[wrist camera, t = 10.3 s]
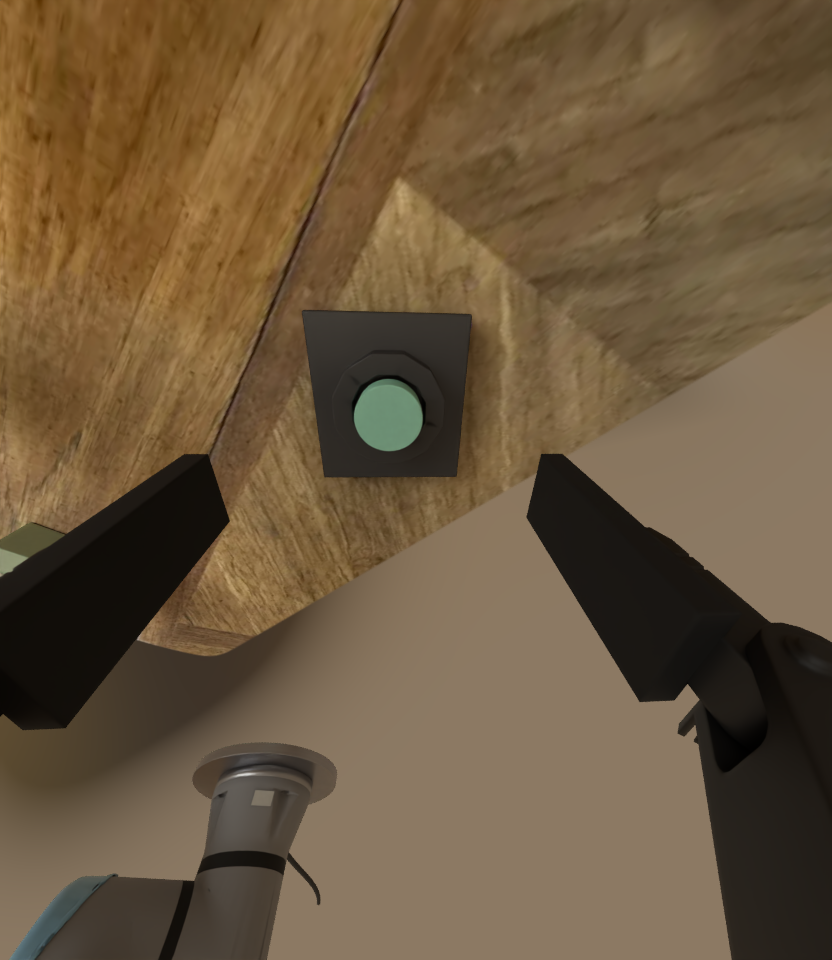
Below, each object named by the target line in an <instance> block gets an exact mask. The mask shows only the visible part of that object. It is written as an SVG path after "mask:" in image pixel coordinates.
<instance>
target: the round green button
mask: <svg viewBox="0 0 832 960" xmlns="http://www.w3.org/2000/svg"><path fill="white" fill-rule="evenodd" d="M354 422H355V426H356V429H357V432H358V433H359V435H360V436H361V438H362V439H363V440H364V441H365V442H366V443H367V444H369V445H370V446H372V447H374V448H376V449H379V450H383V451H396V450H400V449H403V448H405V447H407V446H408V445H410V444H411V443H412V442H413V441H414V440H415V439H416V438H417V436H418V435H419V433H420V431H421V428H422V423H423V414H422V409H421V405H420V402H419V399H418V397H417V395H416V393H415V392H414V391H413V390H412V388H410V387H409V386H408V385H407V384H405V383H403V382H401V381H398V380H394V379H382V380H378V381H376V382H374V383H372V384H370V385H369V386H368V387H367V388H366V389H365V390H364V391H363V392H362V394H361V396H360V398H359V400H358V403H357V405H356V408H355V412H354Z"/></svg>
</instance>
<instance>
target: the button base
mask: <svg viewBox="0 0 832 960" xmlns="http://www.w3.org/2000/svg"><path fill="white" fill-rule="evenodd" d="M302 316H303V323H304V330H305V338H306V345H307V353H308V360H309V367H310V375H311V382H312V389H313V397H314V404H315V411H316V419H317V426H318V434H319V441H320V448H321V456H322V463H323V470H324V477H456V476H457V467H458V457H459V446H460V436H461V425H462V415H463V404H464V394H465V383H466V373H467V363H468V352H469V342H470V331H471V321H472V315H471V314H451V313H410V312H369V311H328V310H303V311H302ZM382 379H394V380H398V381H401V382H403V383H405V384H407V385H408V386H409V387H410V388H412V390H413V391H414V392H415V393H416V395H417V397H418V399H419V402H420V405H421V409H422V414H423V423H422V428H421V431H420V433H419V435H418V436H417V438H416V439H415V440H414V441H413V442H412V443H411V444H410V445H408V446H407V447H405V448H403V449H400V450H396V451H383V450H379V449H376V448H374V447H372V446H370V445H369V444H367V443H366V442H365V441H364V440H363V439H362V438H361V436H360V435H359V433H358V432H357V429H356V426H355V422H354V412H355V408H356V405H357V403H358V400H359V398H360V396H361V394H362V392H363V391H364V390H365V389H366V388H367V387H368V386H369V385H370V384H372V383H374V382H376V381H378V380H382Z"/></svg>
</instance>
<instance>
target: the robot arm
mask: <svg viewBox="0 0 832 960" xmlns="http://www.w3.org/2000/svg"><path fill="white" fill-rule="evenodd" d="M527 519H528V521H529V522H530V524H531V526H532V527H533V529H534V531H535V532H536V534H537V535H538V537H539V539H540V540H541V542H542V543H543V545H544V547H545V548H546V550H547V551H548V553H549V555H550V556H551V558H552V560H553V561H554V563H555V564H556V566H557V568H558V570H559V571H560V573H561V574H562V576H563V578H564V579H565V581H566V583H567V584H568V586H569V587H570V589H571V590H572V592H573V594H574V596H575V597H576V599H577V601H578V602H579V604H580V605H581V607H582V609H583V610H584V612H585V613H586V615H587V617H588V618H589V620H590V622H591V623H592V625H593V627H594V628H595V630H596V631H597V633H598V635H599V636H600V638H601V640H602V641H603V643H604V644H605V646H606V648H607V649H608V651H609V653H610V654H611V656H612V658H613V659H614V661H615V662H616V664H617V665H618V667H619V669H620V671H621V672H622V674H623V675H624V677H625V679H626V680H627V682H628V684H629V685H630V687H631V688H632V690H633V692H634V693H635V695H636V697H637V698H638V700H639V702H650V701H670V700H671V701H672V700H675V699H676V698H677V696H678V695H679V694H680V693H681V691H682V690H683V689H684V687H685V686H686V685H687V684H688V685H689V686H690V687H691V689H692V690H693V691H694V693H695V694H696V695H697V696H698V698H699V699H700V700H699V701H698V702H697V704H696V705H695V706H694V707H693V708H692V710H691V711H690V712H689V713H688V714H687V715H686V716H685V718H684V719H683V720H682V721H681V722H680V723H679V728H678V734H680V735H682V736H685V735H686V734H687V733H688V732H689V731H690V730H691V729H692V728H693V727H694V725H696V731H697V736H696V738H695V739H694V742H695V743H697V744H699V751H700V757H701V764H702V770H703V776H704V782H705V789H706V796H707V802H708V809H709V815H710V822H711V828H712V834H713V841H714V848H715V854H716V861H717V866H718V873H719V880H720V886H721V893H722V899H723V906H724V912H725V919H726V925H727V932H728V938H729V945H730V950H731V957H732V960H832V642H830V641H828V640H827V639H825V638H823V637H821V636H819V635H817V634H815V633H812V632H810V631H808V630H805V629H803V628H800V627H797V626H793V625H789V624H785V623H770V622H769V621H768V620H767V619H765V618H764V617H763V616H762V615H761V614H759V613H758V612H757V611H756V610H755V609H753V608H752V607H751V606H750V605H749V604H748V603H746V602H745V601H744V600H743V599H742V598H740V597H739V596H738V595H737V594H736V593H735V592H733V591H732V590H731V589H730V588H729V587H727V586H726V585H725V584H724V583H723V582H721V581H720V580H719V579H718V578H717V577H715V576H714V575H713V574H712V573H711V572H710V571H708V570H704V566H702V565H701V564H700V563H699V562H698V561H697V560H695V559H694V558H693V557H689V554H688V553H687V552H686V551H685V550H683V549H682V548H681V547H680V546H679V545H678V544H676V543H675V542H674V541H673V540H672V539H670V538H668V537H666V536H664V535H663V534H661V533H659V532H657V531H655V530H654V529H652V528H650V527H648V528H646V527H644V526H643V525H642V524H641V523H640V522H639V521H638V520H636V519H635V518H634V517H633V516H632V515H630V514H629V512H627V511H626V510H625V509H624V508H623V507H622V506H621V505H620V504H618V503H617V502H616V501H615V500H614V499H613V498H612V497H610V496H609V495H608V494H607V493H606V492H605V491H603V489H601V488H600V487H599V486H598V485H597V484H596V483H595V482H594V481H592V480H591V479H590V478H589V477H588V476H587V475H586V474H584V473H583V472H582V471H581V470H580V469H579V468H578V467H577V466H575V465H574V464H573V463H572V462H571V461H570V460H569V459H568V458H566V457H565V456H564V455H563V454H541V458H540V462H539V466H538V470H537V475H536V479H535V483H534V488H533V492H532V496H531V500H530V504H529V509H528V513H527ZM229 522H230V520H229V517H228V514H227V511H226V508H225V505H224V502H223V499H222V496H221V493H220V490H219V486H218V483H217V480H216V477H215V474H214V471H213V468H212V465H211V462H210V459H209V456H208V454H184V455H182V456H181V457H180V458H178V459H177V460H175V461H174V462H172V463H171V464H169V465H168V466H166V467H165V468H163V469H162V470H160V471H159V472H157V473H156V474H154V475H153V476H152V477H150V478H149V479H147V480H146V481H144V482H143V483H141V484H140V485H138V486H137V487H135V488H134V489H132V490H131V491H129V492H128V493H126V494H125V495H124V496H122V497H121V498H119V499H118V500H116V501H115V502H113V503H112V504H110V505H109V506H107V507H106V508H104V509H103V510H101V511H100V512H99V513H97V514H96V515H94V516H93V517H91V518H90V519H88V520H87V521H85V522H84V523H82V524H81V525H79V526H78V527H76V528H75V529H73V530H72V531H71V532H69V533H68V534H66V535H65V536H63V537H62V538H60V539H59V540H57V541H56V542H54V543H53V544H51V545H50V546H48V547H46V548H44V549H42V550H40V551H38V552H37V553H35V554H34V555H32V556H31V557H29V558H28V559H26V560H25V561H23V562H22V563H20V564H19V565H17V566H16V567H14V568H13V571H12V572H7V573H5V574H4V575H2V576H1V577H0V716H1V715H2V714H4V715H5V716H6V717H8V718H9V719H10V720H11V721H12V722H14V723H15V724H16V725H17V726H18V727H20V728H21V729H22V730H34V729H56V728H66V727H67V725H68V724H69V723H70V722H71V720H72V719H73V718H74V717H75V715H76V714H77V713H78V712H79V710H80V709H81V708H82V706H83V705H84V704H85V703H86V701H87V700H88V699H89V698H90V696H91V695H92V694H93V693H94V691H95V690H96V689H97V688H98V686H99V685H100V684H101V683H102V681H103V680H104V679H105V678H106V676H107V675H108V674H109V673H110V671H111V670H112V669H113V667H114V666H115V665H116V664H117V662H118V661H119V660H120V659H121V657H122V656H123V655H124V654H125V652H126V651H127V650H128V649H129V647H130V646H131V645H132V644H133V642H134V641H135V640H136V639H137V637H138V636H139V635H140V634H141V632H142V631H143V630H144V629H145V627H146V626H147V625H148V623H149V622H150V621H151V620H152V618H153V617H154V616H155V615H156V613H157V612H158V611H159V610H160V608H161V607H162V606H163V605H164V603H165V602H166V601H167V600H168V598H169V597H170V596H171V595H172V593H173V592H174V591H175V589H176V588H177V587H178V586H179V584H180V583H181V582H182V581H183V579H184V578H185V577H186V576H187V574H188V573H189V572H190V571H191V569H192V568H193V567H194V566H195V564H196V563H197V562H198V561H199V559H200V558H201V557H202V555H203V554H204V553H205V552H206V550H207V549H208V548H209V547H210V545H211V544H212V543H213V542H214V540H215V539H216V538H217V537H218V535H219V534H220V533H221V532H222V530H223V529H224V528H225V527H226V525H227V524H228V523H229ZM312 786H313V783H312V781H311V779H310V778H309V777H308V776H307V775H305V774H304V773H302V772H300V771H298V770H295V769H292V768H288V767H283V766H276V765H249V766H242V767H238V768H235V769H232V770H229V771H227V772H225V773H224V774H222V775H221V776H220V777H219V779H218V782H217V784H216V787H215V789H214V793H213V797H212V802H211V809H210V817H209V824H208V832H207V839H206V847H205V852H204V855H203V858H202V861H201V864H200V867H199V870H198V872H197V875H196V878H195V881H183V880H165V879H147V878H129V877H118V875H117V874H111V875H108V876H85V877H81V878H79V879H77V880H75V881H74V882H72V883H70V884H69V885H68V886H66V887H65V888H64V889H63V890H62V891H61V892H60V893H59V894H58V895H57V896H56V897H55V898H54V899H53V901H52V902H51V903H50V904H49V906H48V907H47V908H46V909H45V911H44V912H43V913H42V915H41V916H40V917H39V918H38V920H37V921H36V922H35V924H34V925H33V927H32V928H31V930H30V931H29V932H28V933H27V935H26V936H25V938H24V939H23V941H22V942H21V943H20V945H19V946H18V948H17V949H16V951H15V952H14V953H13V955H12V956H11V958H10V959H9V960H267V956H268V950H269V945H270V940H271V935H272V930H273V925H274V920H275V915H276V910H277V905H278V900H279V895H280V890H281V885H282V880H283V875H284V870H285V865H286V860H288V861H289V862H290V863H291V865H292V866H293V867H294V868H295V869H296V870H297V871H298V872H299V873H300V874H301V875H302V876H303V877H304V878H305V880H306V881H307V882H308V883H309V884H310V886H311V887H312V888H313V890H314V892H315V894H316V897H317V904H318V905H319V904H320V894H319V890H318V888H317V886H316V884H315V883H314V882H313V880H312V879H311V878H310V876H309V875H308V874H307V873H306V872H305V871H304V870H303V869H302V868H301V867H300V865H299V864H298V863H297V862H296V861H295V860H294V858H293V857H292V856H291V854H290V853H289V849H290V847H291V845H292V842H293V840H294V837H295V835H296V833H297V830H298V828H299V825H300V823H301V821H302V818H303V816H304V813H305V811H306V809H307V806H308V804H309V800H310V797H311V792H312Z"/></svg>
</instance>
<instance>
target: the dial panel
mask: <svg viewBox="0 0 832 960" xmlns="http://www.w3.org/2000/svg"><path fill="white" fill-rule="evenodd" d="M63 536H65V534H62V533H59V532H56V531H54V530H51V529H48V528H45V527H42V526H40V525H37V524H34V523H31V522H30V523H28V524H26V525H25V526H23V527H21V528H20V529H18V530H16V531H14V532H13V533H11V534H9V535H7V536H6V537H4V538H2V539H1V540H0V577H1V576H2V575H4V574H5V573H7V572H12V571H13V568H14V567H16V566H17V565H19V564H20V563H22V562H23V561H25V560H26V559H28V558H29V557H31V556H32V555H34V554H35V553H37V552H38V551H40V550H42V549H44V548H46V547H48V546H50V545H51V544H53V543H54V542H56V541H57V540H59V539H60V538H62V537H63Z"/></svg>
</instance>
